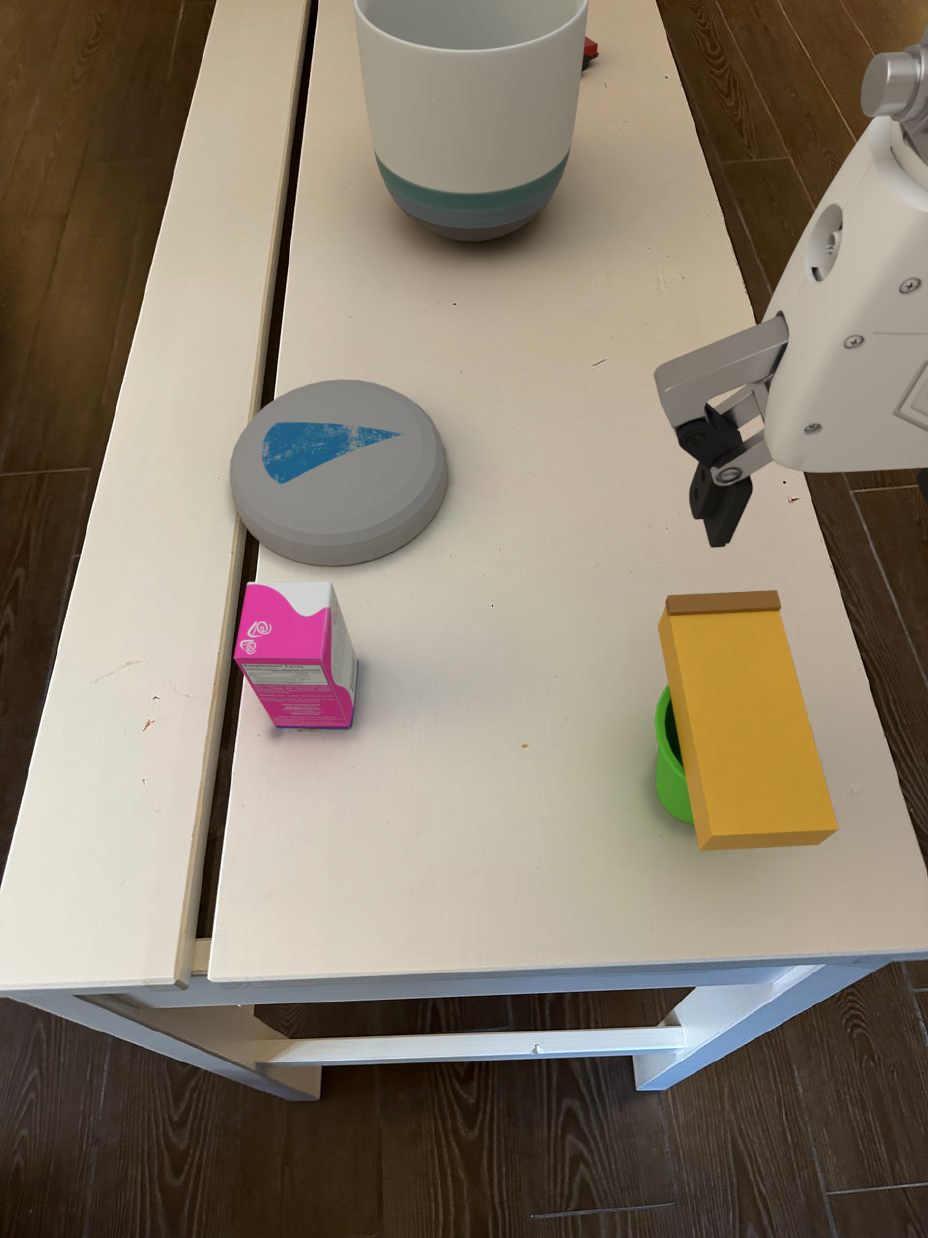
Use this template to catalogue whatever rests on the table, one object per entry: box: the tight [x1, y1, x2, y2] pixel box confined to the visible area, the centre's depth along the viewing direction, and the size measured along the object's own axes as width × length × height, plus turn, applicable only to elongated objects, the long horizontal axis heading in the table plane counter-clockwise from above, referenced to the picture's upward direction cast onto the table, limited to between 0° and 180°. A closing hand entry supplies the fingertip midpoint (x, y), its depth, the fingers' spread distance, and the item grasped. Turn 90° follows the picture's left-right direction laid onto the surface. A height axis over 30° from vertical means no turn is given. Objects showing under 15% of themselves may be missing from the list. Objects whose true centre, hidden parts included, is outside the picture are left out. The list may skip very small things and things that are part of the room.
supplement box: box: [233, 581, 359, 730], centre depth 58 cm, size 6×6×12 cm
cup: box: [654, 683, 694, 825], centre depth 54 cm, size 9×9×11 cm
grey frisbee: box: [229, 379, 449, 567], centre depth 71 cm, size 18×18×5 cm
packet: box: [657, 589, 839, 852], centre depth 47 cm, size 14×6×3 cm, turn 3°
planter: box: [352, 0, 590, 242], centre depth 82 cm, size 20×20×21 cm
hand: (822, 512), depth 36 cm, fingers open, 9 cm apart
